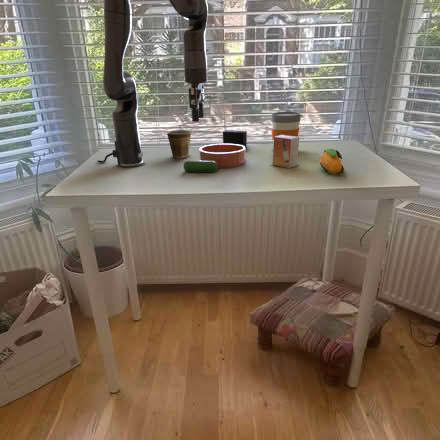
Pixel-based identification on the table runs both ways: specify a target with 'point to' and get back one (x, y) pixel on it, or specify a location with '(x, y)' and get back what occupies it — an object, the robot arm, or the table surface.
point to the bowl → (223, 154)
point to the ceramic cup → (179, 143)
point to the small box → (285, 151)
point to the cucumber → (200, 166)
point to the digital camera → (235, 137)
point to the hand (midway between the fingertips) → (198, 119)
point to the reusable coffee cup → (285, 124)
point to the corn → (331, 161)
